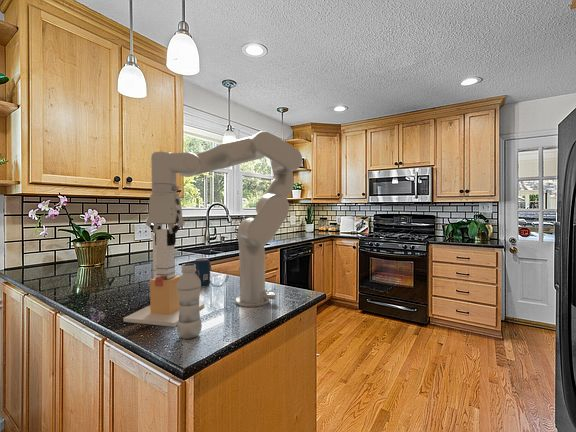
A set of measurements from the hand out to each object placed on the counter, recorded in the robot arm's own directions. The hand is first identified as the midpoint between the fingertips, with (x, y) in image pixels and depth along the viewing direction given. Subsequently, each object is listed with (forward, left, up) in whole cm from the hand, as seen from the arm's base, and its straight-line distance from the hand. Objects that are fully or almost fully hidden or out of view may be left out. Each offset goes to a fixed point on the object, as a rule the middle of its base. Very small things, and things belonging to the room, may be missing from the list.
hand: (165, 244), depth 100 cm
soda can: (+6, -35, -24) cm, 43 cm away
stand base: (0, 0, -23) cm, 23 cm away
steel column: (0, 0, -17) cm, 17 cm away
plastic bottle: (-17, +14, -24) cm, 32 cm away
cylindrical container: (+14, -18, -24) cm, 33 cm away
